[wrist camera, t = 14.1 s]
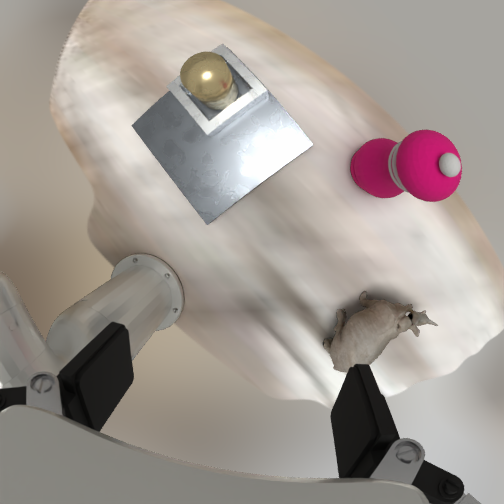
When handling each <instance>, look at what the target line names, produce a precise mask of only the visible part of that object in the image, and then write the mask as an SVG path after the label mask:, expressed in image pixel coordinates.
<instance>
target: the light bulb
mask: <svg viewBox="0 0 504 504" xmlns="http://www.w3.org/2000/svg"><path fill="white" fill-rule="evenodd" d="M180 79H181V82H182V84H183V86H184V87H185V88H186V89H187V90H189V91H190V92H191V93H192V94H193V95H194V96H195V97H196V98H197V99H199V100H200V101H201V102H202V103H203V104H204V105H205V106H206V107H208V108H210V109H214V110H221V109H224V108H227V107H228V106H230V105H231V104H232V103H233V102H234V101H235V100H236V98H237V95H238V87H237V84H236V82H235V80H234V78H233V76H232V74H231V72H230V70H229V68H228V66H227V64H226V62H225V60H224V59H223V58H222V57H221V56H220V55H218V54H216V53H213V52H201V53H197V54H195V55H193V56H192V57H190V58H189V59H188V60H187V61H186V62H185V63H184V65H183V66H182V69H181V72H180Z"/></svg>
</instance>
